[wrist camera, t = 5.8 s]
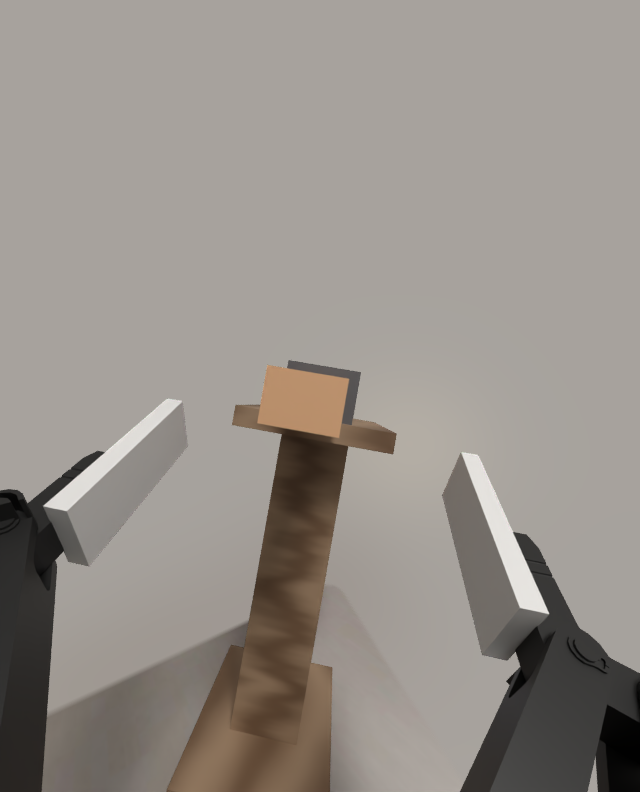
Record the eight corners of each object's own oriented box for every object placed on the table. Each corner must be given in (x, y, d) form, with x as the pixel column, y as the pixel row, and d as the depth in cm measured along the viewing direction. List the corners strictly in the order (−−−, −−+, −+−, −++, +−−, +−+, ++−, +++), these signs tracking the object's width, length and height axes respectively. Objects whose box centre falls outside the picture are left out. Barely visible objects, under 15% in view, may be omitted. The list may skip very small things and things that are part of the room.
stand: (163, 810, 23) (238, 386, 24) (228, 657, 37) (275, 392, 38) (325, 852, 23) (399, 414, 23) (330, 680, 36) (376, 410, 37)
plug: (234, 419, 14) (250, 326, 14) (296, 409, 34) (303, 373, 34) (362, 442, 13) (379, 347, 13) (347, 418, 34) (353, 381, 34)
